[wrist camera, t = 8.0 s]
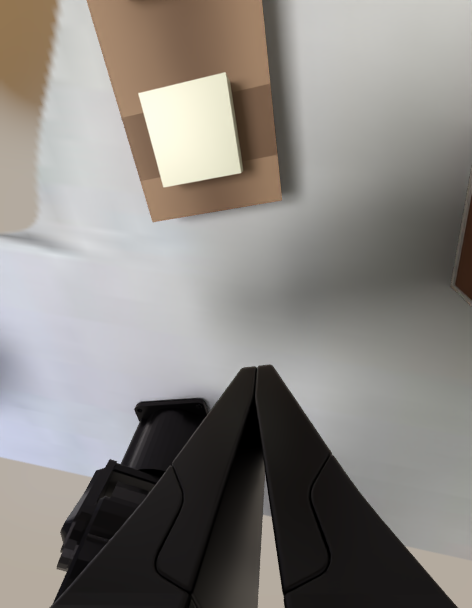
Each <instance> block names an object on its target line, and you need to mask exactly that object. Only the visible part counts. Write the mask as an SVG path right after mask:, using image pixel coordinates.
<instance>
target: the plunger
mask: <svg viewBox="0 0 472 608" xmlns="http://www.w3.org/2000/svg"><path fill="white" fill-rule="evenodd" d="M138 94H139V98H140V102H141V105H142V109H143V113H144V117H145V120H146V124H147V128H148V132H149V135H150V139H151V143H152V146H153V150H154V154H155V158H156V161H157V165H158V169H159V173H160V176H161V180H162V184H163V187H169V186H175V185H180V184H185V183H191V182H196V181H201V180H207V179H212V178H217V177H223V176H228V175H233V174H239V173H242V172H243V165H242V158H241V151H240V145H239V138H238V131H237V125H236V118H235V111H234V105H233V98H232V92H231V85H230V80H229V78H228V76H227V74H226V72H224V73H220V74H216V75H212V76H208V77H204V78H199V79H195V80H191V81H187V82H183V83H179V84H175V85H171V86H166V87H162V88H158V89H154V90H150V91H146V92H142V93H138Z"/></svg>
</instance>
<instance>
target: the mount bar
mask: <svg viewBox="0 0 472 608" xmlns="http://www.w3.org/2000/svg"><path fill="white" fill-rule="evenodd" d="M87 3H88V7H89V10H90V13H91V17H92V20H93V24H94V27H95V30H96V34H97V37H98V40H99V44H100V47H101V50H102V54H103V57H104V60H105V64H106V67H107V70H108V74H109V77H110V81H111V84H112V87H113V91H114V94H115V97H116V101H117V104H118V107H119V111H120V114H121V117H122V121H123V124H124V128H125V131H126V134H127V138H128V141H129V144H130V148H131V151H132V154H133V158H134V161H135V164H136V168H137V171H138V175H139V178H140V181H141V185H142V188H143V191H144V195H145V198H146V201H147V205H148V208H149V211H150V215H151V218H152V221H153V222H157V221H163V220H169V219H174V218H180V217H186V216H192V215H198V214H204V213H210V212H216V211H222V210H228V209H234V208H240V207H246V206H252V205H257V204H263V203H269V202H275V201H281V200H282V194H281V185H280V175H279V165H278V155H277V145H276V135H275V125H274V115H273V105H272V95H271V86H270V76H269V66H268V56H267V46H266V36H265V26H264V16H263V6H262V0H87ZM224 72H226V74H227V76H228V78H229V80H230V85H231V92H232V98H233V105H234V111H235V118H236V125H237V131H238V138H239V145H240V151H241V158H242V165H243V172H242V173H239V174H233V175H228V176H223V177H217V178H212V179H207V180H201V181H196V182H191V183H185V184H180V185H175V186H169V187H163V184H162V180H161V176H160V173H159V169H158V165H157V161H156V158H155V154H154V150H153V146H152V143H151V139H150V135H149V132H148V128H147V124H146V120H145V117H144V113H143V109H142V105H141V102H140V98H139V94H138V93H142V92H146V91H150V90H154V89H158V88H162V87H166V86H171V85H175V84H179V83H183V82H187V81H191V80H195V79H199V78H204V77H208V76H212V75H216V74H220V73H224Z"/></svg>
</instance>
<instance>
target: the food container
mask: <svg viewBox="0 0 472 608" xmlns="http://www.w3.org/2000/svg"><path fill="white" fill-rule="evenodd" d="M450 287H451V288H453V289H454V290H455V291H456V292H457V293H458V294H459V295H460V296H461V297H462V298H463V299H464V300H465V301H466V302H467V303H468V304H469V305H471V306H472V167H471V173H470V178H469V184H468V189H467V195H466V201H465V206H464V212H463V217H462V223H461V229H460V234H459V240H458V245H457V251H456V257H455V262H454V268H453V274H452V279H451V285H450Z"/></svg>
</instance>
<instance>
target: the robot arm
mask: <svg viewBox="0 0 472 608" xmlns="http://www.w3.org/2000/svg"><path fill="white" fill-rule="evenodd" d="M134 410H135V413H136V415H137V417H138V419H139V421H140V423H139V425H138V427H137V429H136V432H135V434H134V436H133V438H132V440H131V442H130V445H129V447H128V449H127V451H126V453H125V456H124V458H123V460H122V462H121V464H119V463H117V461H114V460H111V459H110V460H109V462H108V464H107V465H106V467H105V468H104V469H103V468H102V469H100V470H96V472H95V474H94V476H93V478H92V480H91V481H90V483H89V485H88V487H87V489H86V491H85V492H84V494H83V496H82V497H81V499H80V500H79V502H78V503H77V505H76V506H75V508H74V509H73V511H72V512H71V514H70V515H69V517H68V518H67V520H66V521H65V523H64V525H63V527H62V529H61V532H60V533H61V537H62V541H63V546H62V548H61V553H62V554H61V557H60V559H59V562H58V565H57V569H59V570H63V571H66V572H67V573H66V575H65V578H64V580H63V582H62V584H61V587H60V589H59V592H58V593H57V596H56V598H55V600H54V603H53V605H52V606H51V607H50V608H257V607H258V588H259V571H260V553H261V535H262V517H263V500H264V482H265V474H266V481H267V488H268V495H269V502H270V509H271V516H272V522H273V529H274V536H275V543H276V550H277V556H278V564H279V570H280V577H281V584H282V591H283V595H284V605H285V608H458V607H457V606H456V605H455V604H454V603H453V601H452V600H451V599H450V598H449V597H448V596H447V595H446V594H445V592H444V591H443V590H442V589H441V588H440V587H439V585H438V584H437V583H436V582H435V581H434V580H433V579H432V577H431V576H430V575H429V574H428V573H427V572H426V570H425V569H424V568H423V567H422V566H421V565H420V563H419V562H418V561H417V560H416V559H415V557H414V556H413V555H412V554H411V553H410V552H409V551H408V549H407V548H406V547H405V546H404V545H403V544H402V542H401V541H400V540H399V539H398V538H397V537H396V535H395V534H394V533H393V532H392V531H391V530H390V528H389V527H388V526H387V525H386V524H385V523H384V521H383V520H382V519H381V518H380V517H379V515H378V514H377V513H376V512H375V510H374V509H373V508H372V507H371V506H370V504H369V503H368V502H367V501H366V499H365V498H364V497H363V496H362V495H361V493H360V492H359V491H358V489H357V488H356V486H355V485H354V484H353V482H352V481H351V480H350V478H349V477H348V475H347V474H346V473H345V471H344V470H343V468H342V467H341V465H340V464H339V463H338V461H337V460H336V458H335V457H334V456H333V455H332V453H331V451H330V450H329V448H328V447H327V445H326V444H325V442H324V441H323V439H322V438H321V436H320V435H319V433H318V432H317V430H316V429H315V427H314V426H313V424H312V423H311V421H310V420H309V419H308V417H307V416H306V414H305V413H304V411H303V410H302V408H301V407H300V405H299V404H298V402H297V401H296V399H295V398H294V396H293V395H292V393H291V392H290V390H289V389H288V387H287V386H286V385H285V383H284V382H283V380H282V379H281V377H280V376H279V374H278V373H277V371H276V370H275V368H274V367H273V366H272V365H262V366H258V367H257V368H256V367H255V366H253V367H244V368H242V369H241V370H240V371H239V372H238V374H237V375H236V376H235V378H234V379H233V381H232V382H231V383H230V385H229V386H228V387H227V389H226V390H225V391H224V393H223V394H222V396H221V397H220V398H219V400H218V401H217V402H216V404H215V405H214V406H213V408H212V409H211V411H210V412H209V413H208V410H207V407H206V404H205V402H204V401H203V400H201V399H192V400H178V401H163V402H148V403H138V404H137V405H136V407H135V409H134Z"/></svg>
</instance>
